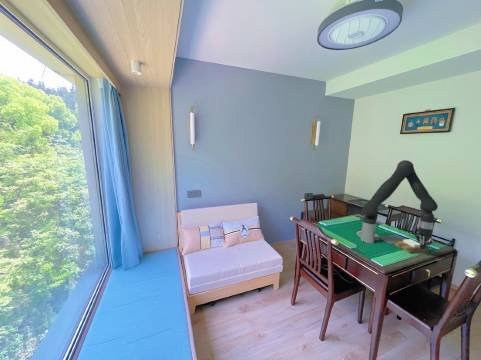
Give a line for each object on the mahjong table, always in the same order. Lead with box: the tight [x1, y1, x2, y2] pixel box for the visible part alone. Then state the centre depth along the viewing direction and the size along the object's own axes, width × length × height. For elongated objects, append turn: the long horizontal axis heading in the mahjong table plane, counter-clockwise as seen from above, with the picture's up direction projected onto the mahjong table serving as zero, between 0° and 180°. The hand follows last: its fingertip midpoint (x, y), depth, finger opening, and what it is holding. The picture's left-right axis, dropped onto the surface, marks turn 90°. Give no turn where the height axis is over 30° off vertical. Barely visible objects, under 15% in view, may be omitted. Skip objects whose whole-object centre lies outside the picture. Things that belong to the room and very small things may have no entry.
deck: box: [394, 240, 429, 254], centre depth 151 cm, size 14×14×4 cm
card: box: [403, 238, 420, 247], centre depth 150 cm, size 9×6×2 cm, turn 4°
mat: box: [376, 234, 405, 245], centre depth 167 cm, size 14×20×1 cm
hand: (422, 248), depth 141 cm, fingers closed
